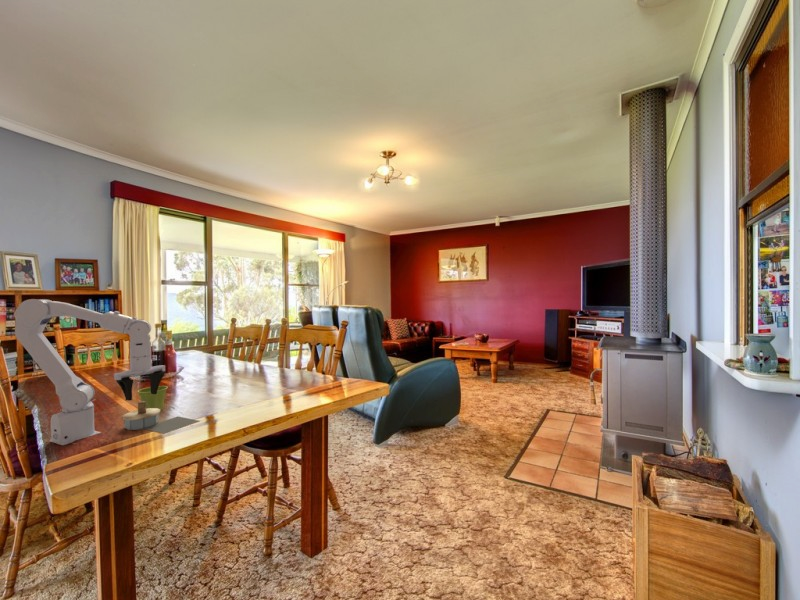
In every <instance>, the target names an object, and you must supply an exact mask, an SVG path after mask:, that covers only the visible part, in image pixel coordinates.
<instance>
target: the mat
mask: <svg viewBox="0 0 800 600" xmlns="http://www.w3.org/2000/svg"><path fill="white" fill-rule="evenodd" d="M199 422H200V420H198V419H193V418H188V417H182V416H175V417H171V418H169V419H165V420H162V421H158V422H157V423H156V424H155V425H153V426H150V427H147V428H142V429H141V430H146V431H150V432H154V433H158V434H163V435H164V434H168V433H171V432H173V431H177V430H179V429H182V428H184V427H188V426H190V425H193V424H196V423H199Z"/></svg>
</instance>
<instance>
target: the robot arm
mask: <svg viewBox="0 0 800 600" xmlns="http://www.w3.org/2000/svg"><path fill="white" fill-rule="evenodd" d="M13 316H14V318H15V325H14V327H15V328H14V336H15V338H16V339H17V340H18V342H19V343H20V344H21V345H22V346H23V348H24V349H25V350H26V351H27V353H28V354H29V355H30V356H31V358H32V359H33V360H34V361H35V362H36V364H37V365H38V366H39V368H40V369H41V370H42V371H43V373H44V374H45V375H46V376H47V378H48V379H49V381H51V382H52V384H53V385H54V387H55V394H56V395H57V396H58V398H59V405H60V407H61V411H60V412H58V413H55V414H52V416H51V418H50V420H49V421H50V439H49V442H51V443H53V444H54V443H55V444H57V445H60V446H66V445H68V444H69V445H70V444H72V443H75V442H76V441H79V440H81V439H85V438H88V437H91V436H95V435H97V434H101V431H97V430H95V404H94V402H92V401H91V400H92V399H94V396H95V394H96V393H95V389H94V386H92V385H90V384H88V383H86V382H85V381H84V380H83V378H81V377H79V376H77V375H76V374H75V373H74V372H73V370H72V369H71V368H70V366H69V365H68V364H67V363H66V362H65V360H64V359H63V358H62V356H61V355H60V353H58V351H57V350H56V349H55V347H54V346H53V345H52V344H51V342H50V341H49V340H48V338H47V337H46V336H45V335H44V333H43V332H44V330H45V328H46V326H47V325H48V323H49V322H50V321H51V320H52V319H53V318H54V317H65V316H66V317H71V318H74V319H79V320H84V321H89V322H91V323H96V324H99V326H100V328H101V329H103V330H107V331H109V332H110V331H111V332H116V333H119V334H122V335H126V334H128V336H129V339H130V340H129V369H128V370H125V371H121V372H116V373H113V378H114V379H113V380H114V381H116V383H117V385H119V387H120V389H121V390H122V392H123V394H124V397H125V401H129V402H130V401H132V400H133V384H134V379H131V378H133V377H139V376H143V375H148V377H149V383H150V386H149V387H151V394H157V390H158V387H159V386H160V383H162V382H161V381H162V379H163V377H164V376H165V372H166V365H165V364H164V365H162V364H161V365H160V364H159V365H155V366H152V341H151V334H150V333H151V331H152V326H151V323H150V322H148V321H147V320H144V319H143V318H140V319H138V317H136V316H128V315H125V314H121V312H120V311H118V310H114V311H108V312H107V311H106V312H105V313H101V312H99V311H95V310H92V309H88V308H84V307H82V306H79V305H76V304H71V303H69V302H64V301H63V302H62V301H55V300H53V301H52V300H50V299H47V298H46V299H45V298H43V299H35V298H31V299H26V300H24V301H22V302H21V303H19V305H18V306H17V308H16V310H15V311H14V313H13Z"/></svg>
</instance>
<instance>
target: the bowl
mask: <svg viewBox="0 0 800 600" xmlns="http://www.w3.org/2000/svg"><path fill="white" fill-rule="evenodd" d="M159 415H160V413H159V414H157V415H155V416H152V417H148V418H144V419H138V420H124V419H123V420H124V421H123V422H124V429H126V430H128V431H135V430H143V429H142V428H147V427H150V426H153V425H155V424H156V423H159V422H160V421H159V419H160V418H159V417H160V416H159Z"/></svg>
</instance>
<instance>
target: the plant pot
mask: <svg viewBox="0 0 800 600" xmlns="http://www.w3.org/2000/svg"><path fill="white" fill-rule="evenodd" d="M168 388H169V386H167V385H159V387H158V390H157V394H151V386H149V387H145V388H141V389H138V390H137V394H138V396H139V398H140V402H142V401H146V409H148V408H158V409H160V412H161V411H163V410H164V407H165V406H164V405H165V400H166V399H165V398H166V394H167V389H168Z"/></svg>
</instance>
